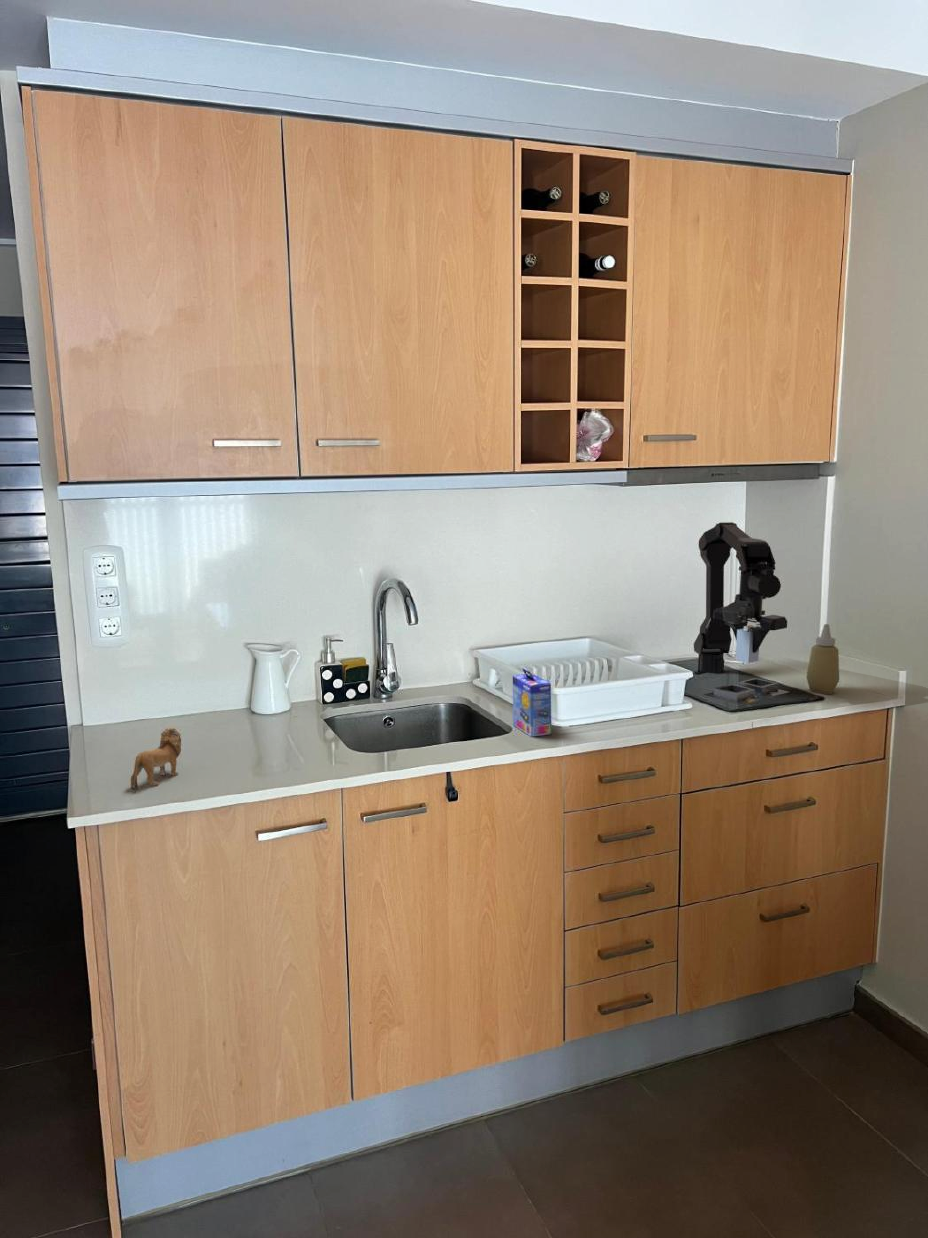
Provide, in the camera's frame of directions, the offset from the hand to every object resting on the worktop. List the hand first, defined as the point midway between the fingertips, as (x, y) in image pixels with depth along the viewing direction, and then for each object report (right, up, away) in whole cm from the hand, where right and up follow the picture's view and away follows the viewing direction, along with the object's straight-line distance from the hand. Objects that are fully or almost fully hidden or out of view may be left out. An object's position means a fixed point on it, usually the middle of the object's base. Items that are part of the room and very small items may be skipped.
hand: (747, 650), depth 240 cm
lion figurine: (-133, -24, -54) cm, 146 cm away
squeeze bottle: (+22, -11, +7) cm, 25 cm away
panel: (0, -12, +2) cm, 12 cm away
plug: (0, -2, 0) cm, 3 cm away
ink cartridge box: (-57, -18, -24) cm, 64 cm away
